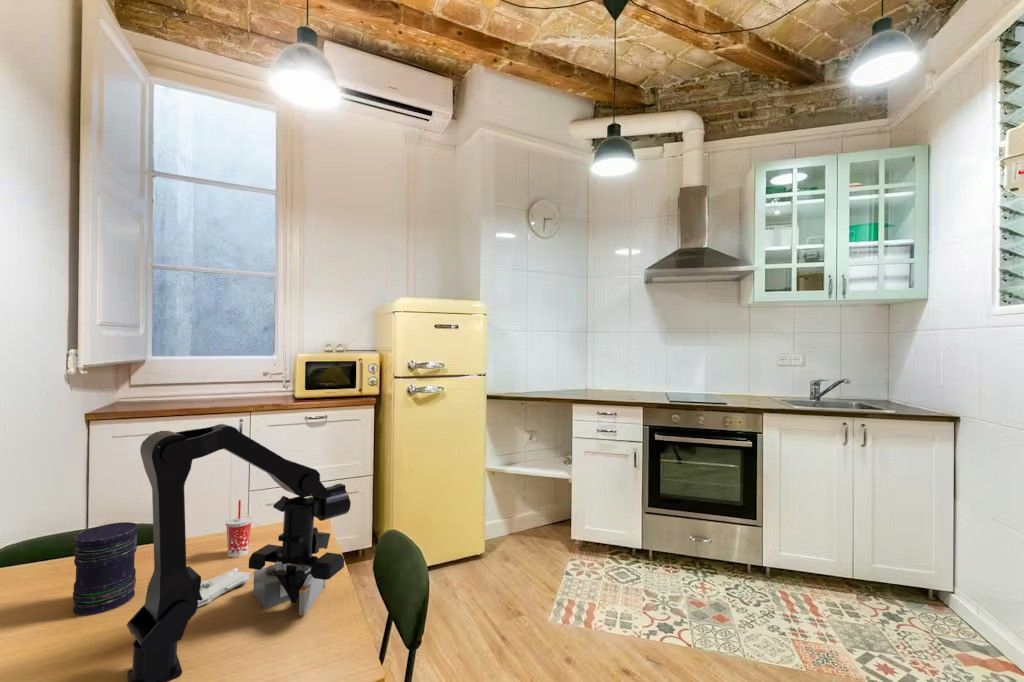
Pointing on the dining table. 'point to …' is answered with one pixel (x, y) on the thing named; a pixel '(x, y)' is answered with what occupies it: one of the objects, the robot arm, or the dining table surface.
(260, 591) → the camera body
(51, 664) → the dining table surface
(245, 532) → the beverage cup
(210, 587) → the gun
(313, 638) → the dining table surface
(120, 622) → the dining table surface
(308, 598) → the side door
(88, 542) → the dark blue cylinder
